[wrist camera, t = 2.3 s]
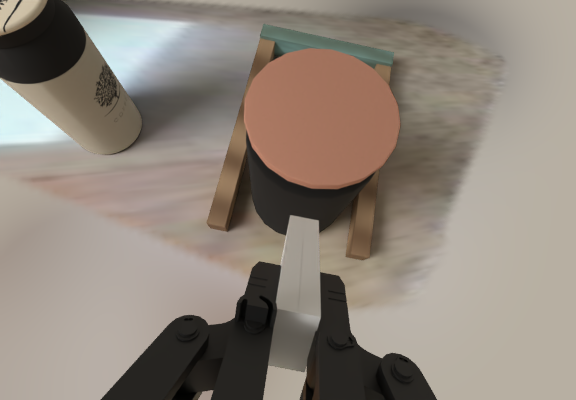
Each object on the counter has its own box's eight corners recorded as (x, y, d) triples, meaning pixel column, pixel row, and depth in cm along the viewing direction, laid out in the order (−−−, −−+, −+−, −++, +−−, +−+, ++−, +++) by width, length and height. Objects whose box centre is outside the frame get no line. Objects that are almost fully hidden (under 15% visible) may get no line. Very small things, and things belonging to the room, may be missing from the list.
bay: (362, 260, 36) (370, 257, 33) (210, 228, 36) (205, 221, 33) (385, 68, 45) (393, 52, 42) (263, 41, 44) (263, 23, 42)
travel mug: (63, 142, 38) (-105, 12, 20) (97, 91, 40) (-27, -63, 23) (123, 164, 37) (3, 51, 20) (154, 112, 40) (71, -29, 23)
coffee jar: (313, 143, 40) (350, 28, 23) (355, 215, 38) (432, 145, 20) (237, 177, 38) (216, 77, 21) (277, 255, 35) (289, 214, 18)
